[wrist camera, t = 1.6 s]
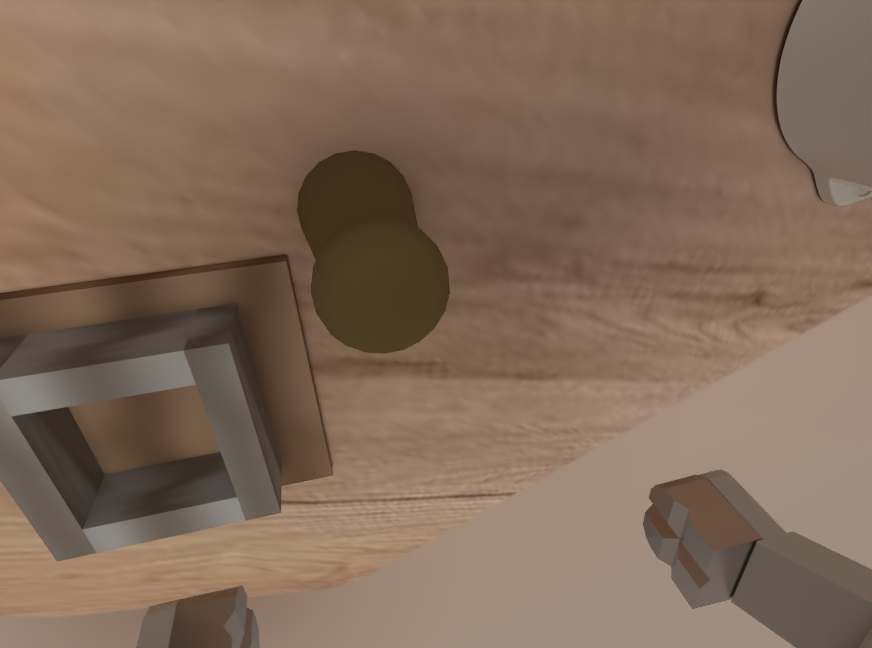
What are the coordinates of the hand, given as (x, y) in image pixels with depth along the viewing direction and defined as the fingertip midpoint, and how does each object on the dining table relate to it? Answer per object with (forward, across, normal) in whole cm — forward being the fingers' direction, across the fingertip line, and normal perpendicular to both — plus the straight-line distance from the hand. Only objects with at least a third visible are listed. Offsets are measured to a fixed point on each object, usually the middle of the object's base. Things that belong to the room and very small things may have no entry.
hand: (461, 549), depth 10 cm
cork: (+21, 0, 0) cm, 21 cm away
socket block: (+21, +13, +10) cm, 26 cm away
